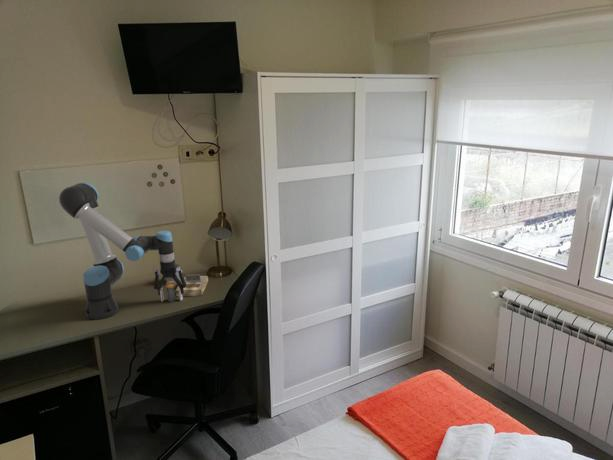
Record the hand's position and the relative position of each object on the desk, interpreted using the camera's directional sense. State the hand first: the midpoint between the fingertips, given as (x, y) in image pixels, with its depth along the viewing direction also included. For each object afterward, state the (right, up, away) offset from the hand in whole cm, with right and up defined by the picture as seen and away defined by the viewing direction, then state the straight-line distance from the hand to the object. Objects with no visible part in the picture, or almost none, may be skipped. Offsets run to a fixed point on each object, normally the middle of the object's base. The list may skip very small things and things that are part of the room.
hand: (172, 300), depth 244 cm
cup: (-6, +6, +25) cm, 26 cm away
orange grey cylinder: (0, 0, 0) cm, 0 cm away
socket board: (+7, +4, +15) cm, 17 cm away
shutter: (+7, +9, +17) cm, 20 cm away
